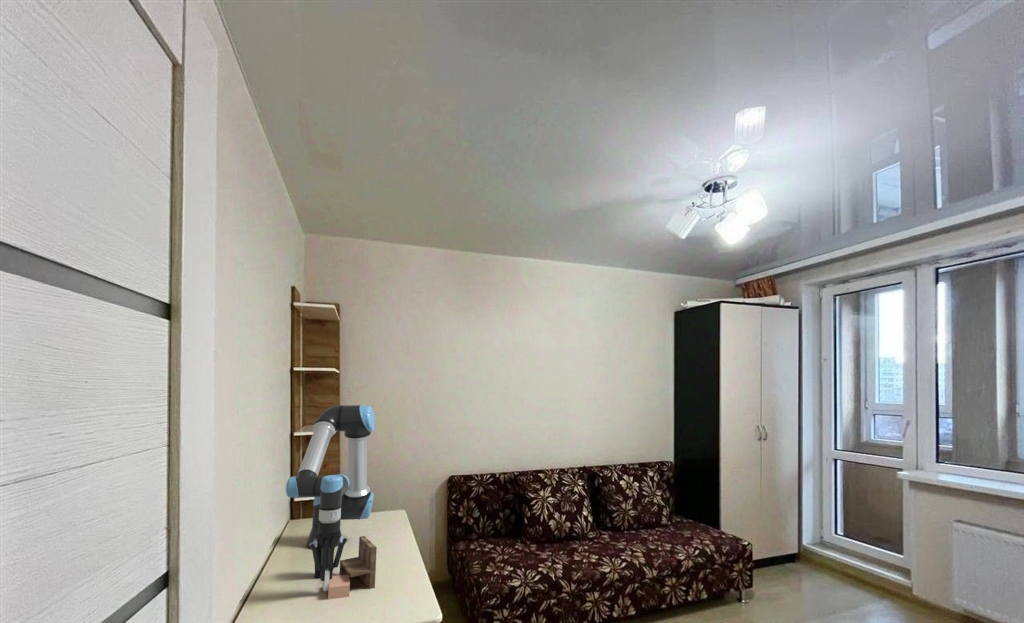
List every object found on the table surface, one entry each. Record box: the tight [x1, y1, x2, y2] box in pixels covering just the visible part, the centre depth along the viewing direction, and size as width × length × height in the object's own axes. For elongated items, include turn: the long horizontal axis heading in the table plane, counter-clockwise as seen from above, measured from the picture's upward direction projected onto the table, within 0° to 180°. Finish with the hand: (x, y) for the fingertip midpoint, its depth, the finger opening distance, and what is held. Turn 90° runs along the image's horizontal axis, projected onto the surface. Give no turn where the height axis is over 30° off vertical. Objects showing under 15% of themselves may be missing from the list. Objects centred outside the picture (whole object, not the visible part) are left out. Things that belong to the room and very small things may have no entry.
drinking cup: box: [313, 538, 329, 579], centre depth 186 cm, size 8×8×20 cm
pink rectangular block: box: [327, 574, 351, 600], centre depth 171 cm, size 7×10×4 cm
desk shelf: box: [338, 535, 378, 589], centre depth 180 cm, size 15×9×14 cm, turn 34°
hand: (325, 589), depth 170 cm, fingers closed
